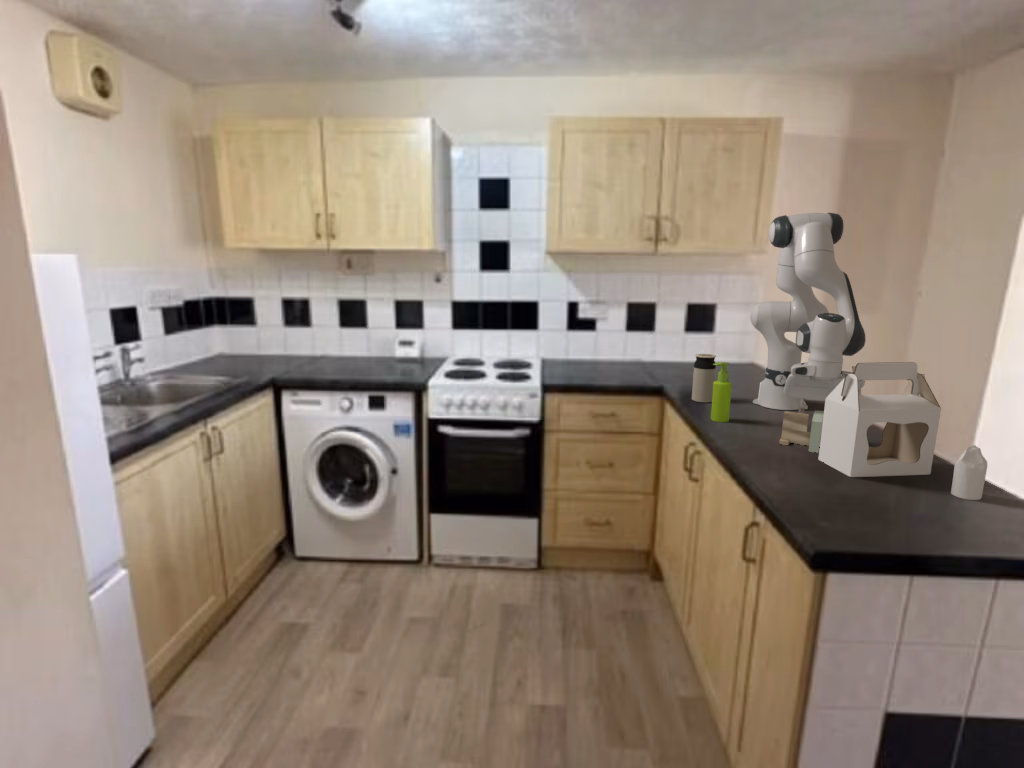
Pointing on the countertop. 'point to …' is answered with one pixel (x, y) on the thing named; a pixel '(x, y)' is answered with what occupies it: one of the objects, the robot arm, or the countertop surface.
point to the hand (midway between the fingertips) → (818, 414)
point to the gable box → (905, 414)
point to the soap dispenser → (721, 395)
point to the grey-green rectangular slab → (816, 431)
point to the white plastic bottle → (969, 474)
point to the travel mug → (703, 378)
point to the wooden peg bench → (795, 429)
